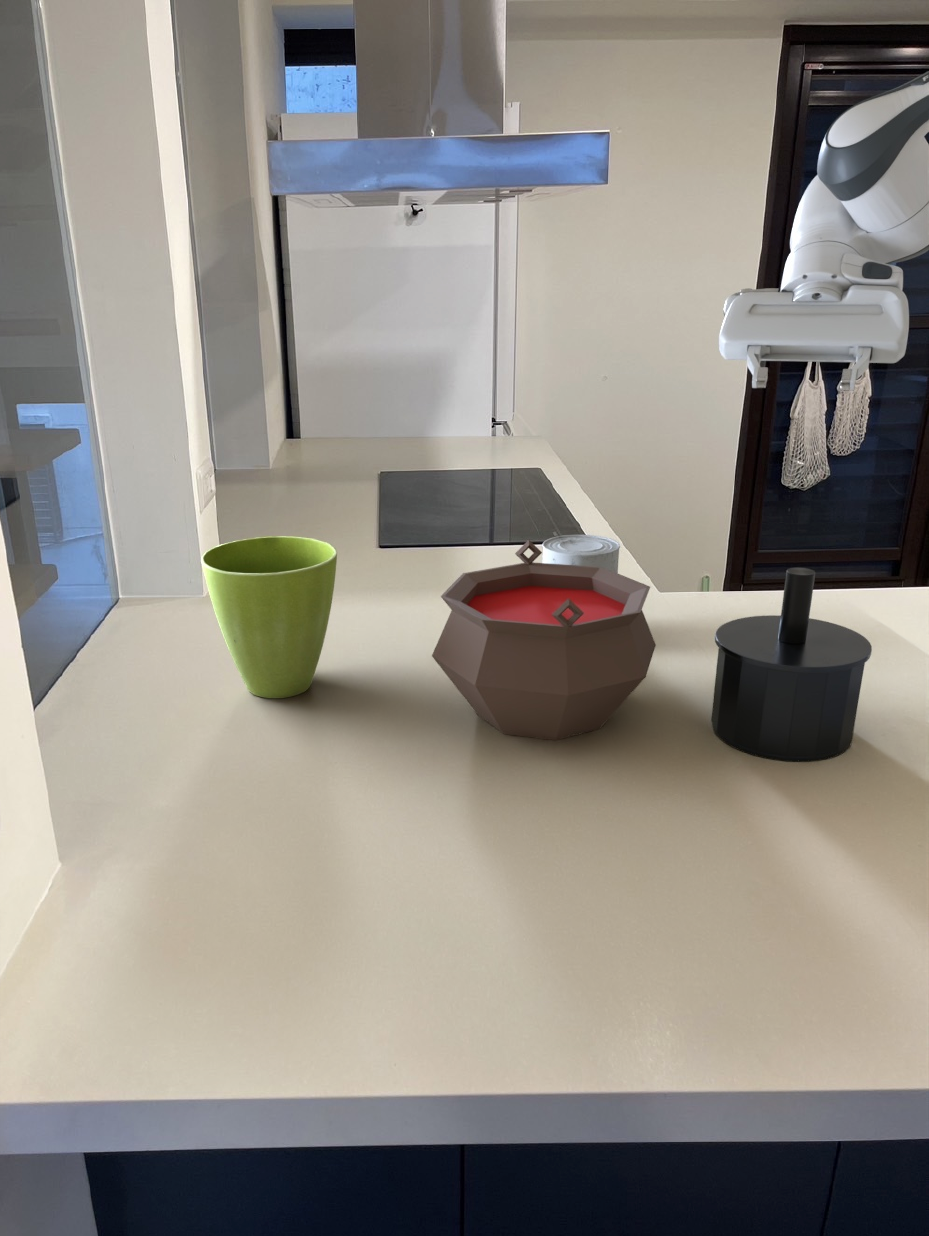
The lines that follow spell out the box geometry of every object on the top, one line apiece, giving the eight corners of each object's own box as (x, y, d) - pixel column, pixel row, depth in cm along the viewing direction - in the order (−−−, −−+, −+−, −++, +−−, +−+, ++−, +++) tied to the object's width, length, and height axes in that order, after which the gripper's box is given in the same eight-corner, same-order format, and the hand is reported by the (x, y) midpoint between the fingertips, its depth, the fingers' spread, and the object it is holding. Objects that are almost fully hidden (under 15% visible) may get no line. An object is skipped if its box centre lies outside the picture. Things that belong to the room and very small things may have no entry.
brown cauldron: (686, 755, 100) (700, 597, 93) (443, 768, 98) (441, 609, 92) (622, 665, 122) (631, 531, 115) (424, 674, 120) (421, 540, 114)
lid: (840, 625, 107) (851, 550, 103) (894, 679, 93) (909, 594, 90) (700, 626, 108) (707, 551, 104) (733, 679, 94) (743, 595, 91)
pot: (826, 704, 110) (838, 621, 106) (872, 762, 97) (888, 670, 94) (699, 704, 111) (707, 622, 107) (729, 761, 98) (739, 671, 94)
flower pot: (366, 693, 115) (360, 558, 109) (244, 724, 109) (230, 581, 102) (310, 654, 127) (302, 529, 121) (197, 679, 120) (182, 549, 114)
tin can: (614, 626, 134) (619, 535, 129) (614, 651, 125) (620, 555, 121) (542, 623, 136) (544, 533, 131) (537, 648, 127) (540, 553, 122)
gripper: (727, 270, 119) (706, 365, 115) (918, 267, 112) (903, 369, 107) (728, 308, 125) (708, 400, 121) (910, 308, 117) (896, 406, 113)
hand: (802, 385), depth 114 cm, fingers open, 8 cm apart
